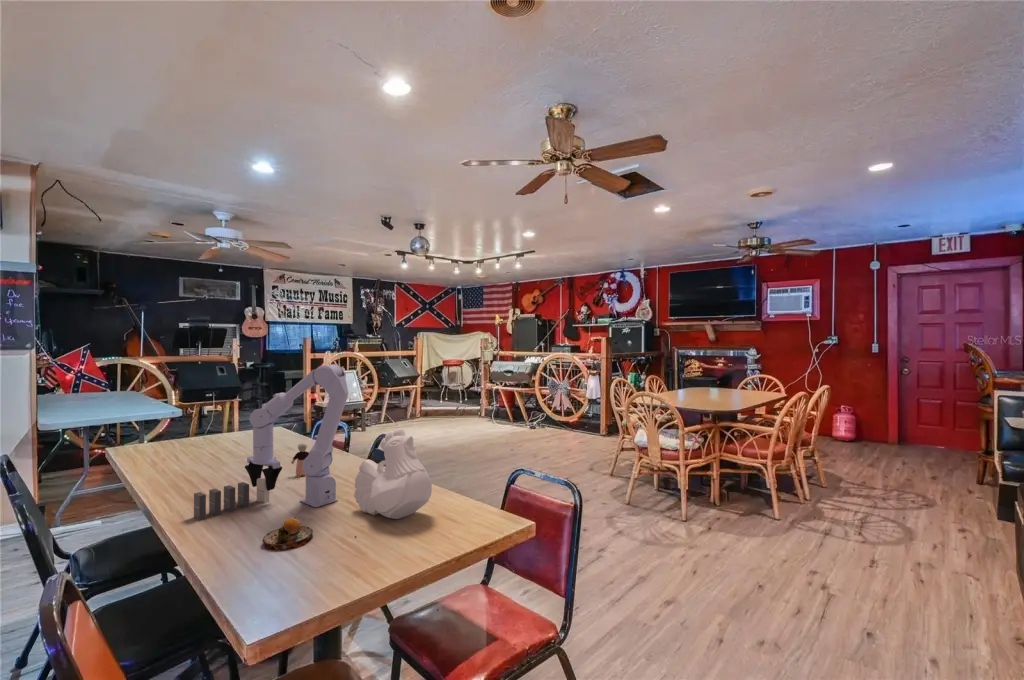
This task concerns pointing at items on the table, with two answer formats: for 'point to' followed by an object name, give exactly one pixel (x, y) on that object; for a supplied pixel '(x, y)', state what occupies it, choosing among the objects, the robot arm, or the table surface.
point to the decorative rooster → (393, 480)
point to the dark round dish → (288, 536)
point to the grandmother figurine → (300, 459)
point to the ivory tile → (262, 490)
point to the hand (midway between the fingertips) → (263, 487)
